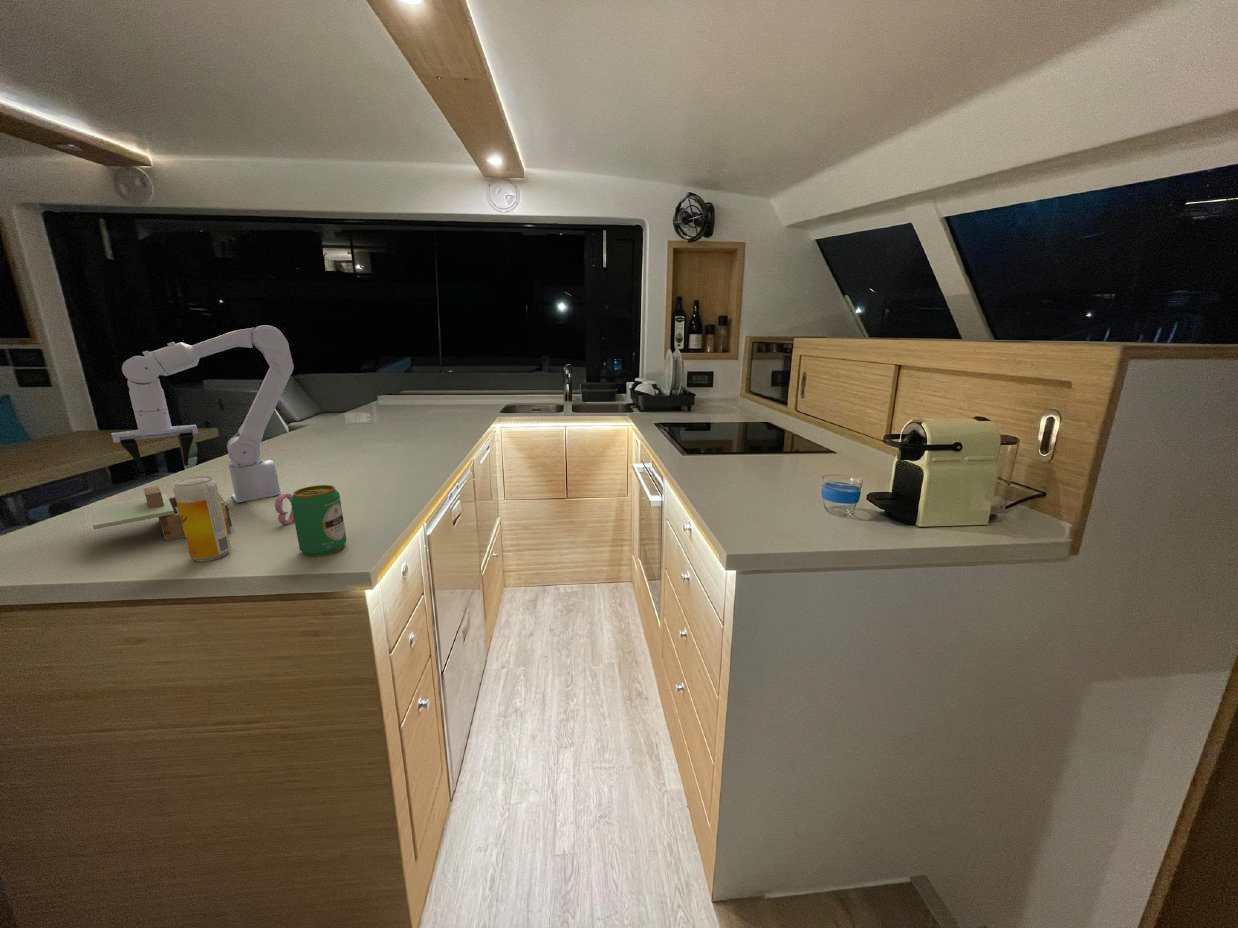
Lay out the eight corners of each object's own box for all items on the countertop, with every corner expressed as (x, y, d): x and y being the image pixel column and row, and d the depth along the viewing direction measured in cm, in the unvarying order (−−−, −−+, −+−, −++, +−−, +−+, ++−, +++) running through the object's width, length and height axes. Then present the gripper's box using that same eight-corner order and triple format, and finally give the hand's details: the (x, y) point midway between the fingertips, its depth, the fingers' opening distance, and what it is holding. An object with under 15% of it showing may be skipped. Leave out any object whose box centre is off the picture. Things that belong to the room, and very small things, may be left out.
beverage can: (327, 559, 93) (317, 498, 90) (290, 556, 95) (278, 495, 92) (356, 541, 101) (347, 485, 98) (321, 539, 102) (311, 483, 99)
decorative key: (336, 509, 128) (281, 526, 108) (332, 509, 128) (275, 526, 108) (335, 483, 127) (279, 495, 107) (331, 483, 127) (274, 495, 107)
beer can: (206, 549, 98) (188, 476, 94) (239, 548, 98) (222, 475, 94) (182, 563, 92) (162, 485, 88) (217, 562, 92) (199, 484, 88)
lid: (167, 496, 113) (163, 480, 112) (174, 513, 102) (170, 496, 101) (94, 509, 105) (89, 492, 104) (93, 529, 94) (88, 510, 93)
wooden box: (220, 508, 120) (215, 489, 119) (232, 525, 110) (227, 505, 108) (159, 520, 113) (153, 500, 112) (165, 540, 102) (159, 518, 101)
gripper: (189, 405, 121) (201, 459, 125) (105, 412, 111) (120, 470, 115) (194, 408, 117) (206, 464, 120) (106, 415, 107) (122, 476, 110)
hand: (164, 467), depth 117 cm, fingers open, 7 cm apart
